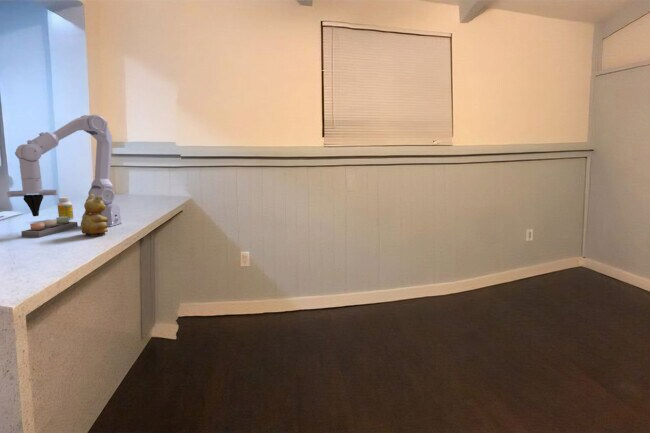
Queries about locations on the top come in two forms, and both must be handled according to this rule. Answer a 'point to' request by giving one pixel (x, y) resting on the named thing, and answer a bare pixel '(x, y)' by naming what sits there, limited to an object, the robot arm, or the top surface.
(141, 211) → the top surface
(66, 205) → the supplement bottle
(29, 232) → the panel
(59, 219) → the sage button
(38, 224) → the terracotta button
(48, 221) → the ivory button
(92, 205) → the decorative figurine
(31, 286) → the top surface
